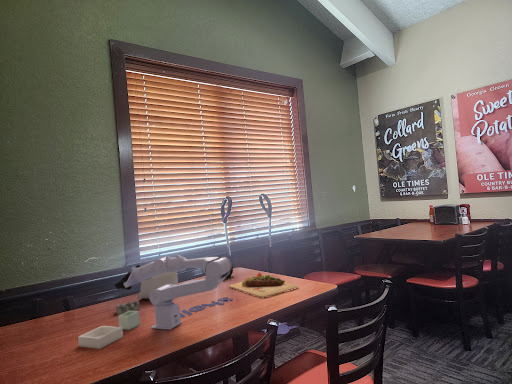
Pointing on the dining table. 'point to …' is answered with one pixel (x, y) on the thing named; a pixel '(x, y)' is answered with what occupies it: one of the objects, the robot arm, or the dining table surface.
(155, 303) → the robot arm
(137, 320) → the green crate
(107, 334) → the tray
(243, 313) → the dining table surface
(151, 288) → the cream block
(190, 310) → the signage
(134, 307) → the egg carton
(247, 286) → the cutting board
